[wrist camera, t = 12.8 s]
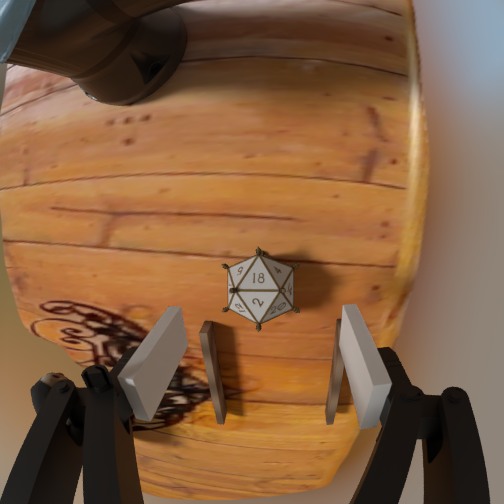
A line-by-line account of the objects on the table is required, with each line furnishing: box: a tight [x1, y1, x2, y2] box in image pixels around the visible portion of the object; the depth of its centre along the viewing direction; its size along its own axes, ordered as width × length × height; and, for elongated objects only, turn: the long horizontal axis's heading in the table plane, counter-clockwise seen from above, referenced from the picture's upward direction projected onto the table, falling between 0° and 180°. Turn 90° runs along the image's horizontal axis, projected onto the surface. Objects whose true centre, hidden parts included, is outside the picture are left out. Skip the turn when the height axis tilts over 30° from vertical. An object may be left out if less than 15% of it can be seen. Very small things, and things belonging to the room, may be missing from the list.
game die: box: [222, 247, 300, 333], centre depth 30 cm, size 9×8×10 cm
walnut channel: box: [199, 319, 344, 425], centre depth 36 cm, size 18×18×3 cm
